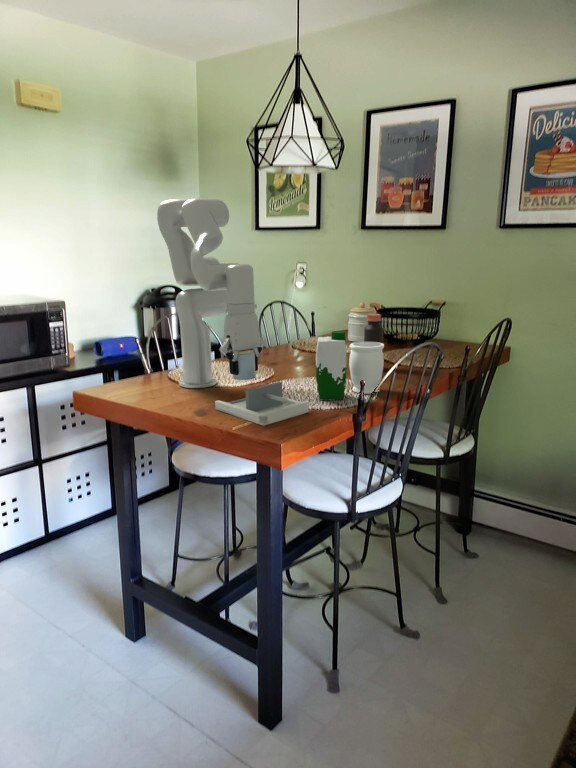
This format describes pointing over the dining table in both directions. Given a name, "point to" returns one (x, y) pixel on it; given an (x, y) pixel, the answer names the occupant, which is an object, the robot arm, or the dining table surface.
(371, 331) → the bottle
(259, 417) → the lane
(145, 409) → the dining table surface
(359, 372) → the jar
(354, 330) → the jar
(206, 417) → the dining table surface
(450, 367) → the dining table surface
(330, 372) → the milk carton
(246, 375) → the glazed jar
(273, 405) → the pusher
